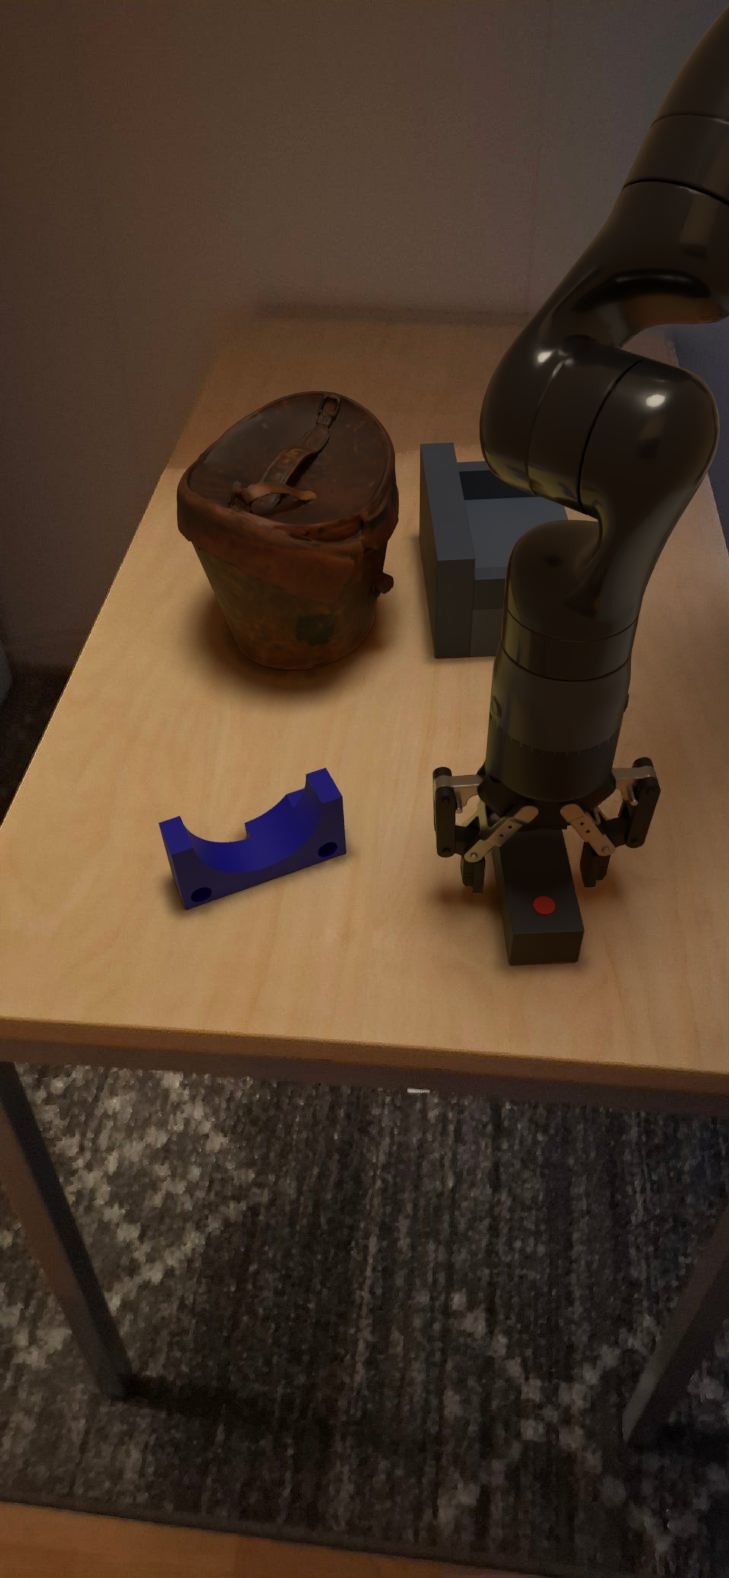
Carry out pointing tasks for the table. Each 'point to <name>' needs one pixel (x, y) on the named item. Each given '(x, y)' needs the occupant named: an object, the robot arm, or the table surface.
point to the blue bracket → (259, 844)
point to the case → (295, 526)
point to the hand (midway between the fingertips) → (530, 880)
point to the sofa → (470, 547)
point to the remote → (538, 898)
